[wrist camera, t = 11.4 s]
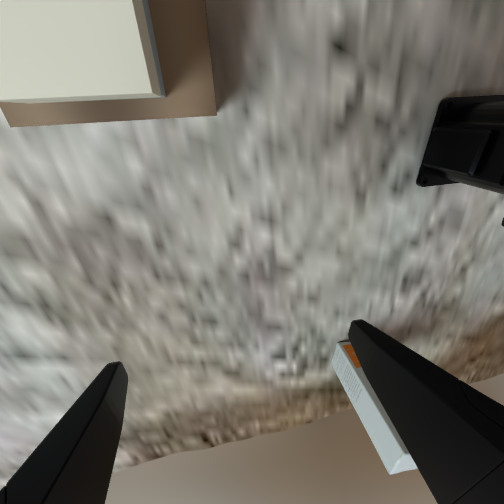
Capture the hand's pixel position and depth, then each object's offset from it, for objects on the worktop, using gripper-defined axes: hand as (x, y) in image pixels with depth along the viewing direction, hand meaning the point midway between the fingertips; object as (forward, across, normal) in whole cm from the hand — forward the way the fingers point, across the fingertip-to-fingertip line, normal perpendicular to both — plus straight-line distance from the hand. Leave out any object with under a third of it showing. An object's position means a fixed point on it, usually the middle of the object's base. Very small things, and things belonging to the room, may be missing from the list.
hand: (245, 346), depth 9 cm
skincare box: (+12, -16, +20) cm, 28 cm away
